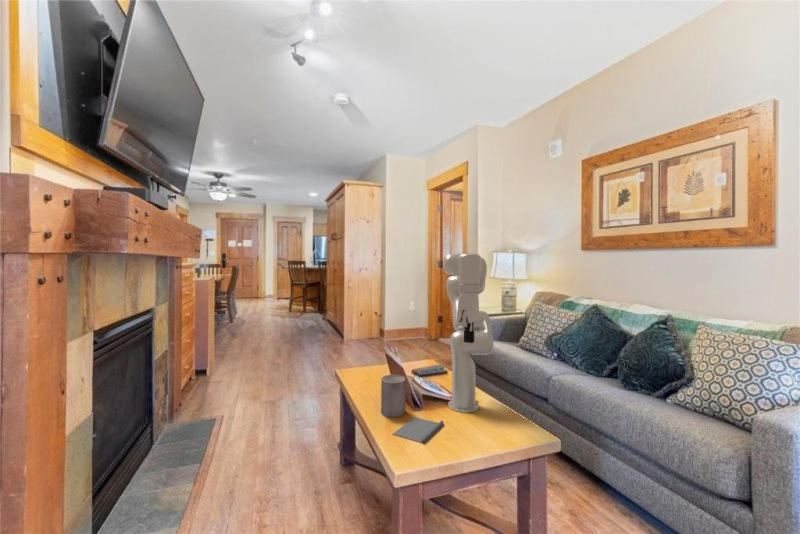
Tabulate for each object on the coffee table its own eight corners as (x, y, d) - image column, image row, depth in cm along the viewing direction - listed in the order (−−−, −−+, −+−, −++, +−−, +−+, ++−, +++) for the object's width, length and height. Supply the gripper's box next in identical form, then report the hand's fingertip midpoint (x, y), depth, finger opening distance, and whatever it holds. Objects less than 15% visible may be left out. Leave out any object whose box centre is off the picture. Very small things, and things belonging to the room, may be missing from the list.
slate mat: (414, 417, 136) (414, 413, 136) (444, 425, 130) (444, 421, 130) (392, 435, 122) (392, 430, 122) (424, 444, 116) (424, 439, 116)
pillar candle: (388, 406, 147) (388, 370, 147) (409, 410, 143) (409, 373, 143) (376, 415, 139) (376, 376, 139) (398, 419, 134) (398, 380, 134)
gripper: (466, 287, 131) (466, 337, 131) (450, 290, 118) (450, 345, 118) (486, 288, 127) (486, 339, 127) (472, 291, 114) (472, 347, 114)
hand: (469, 342), depth 123 cm, fingers closed
